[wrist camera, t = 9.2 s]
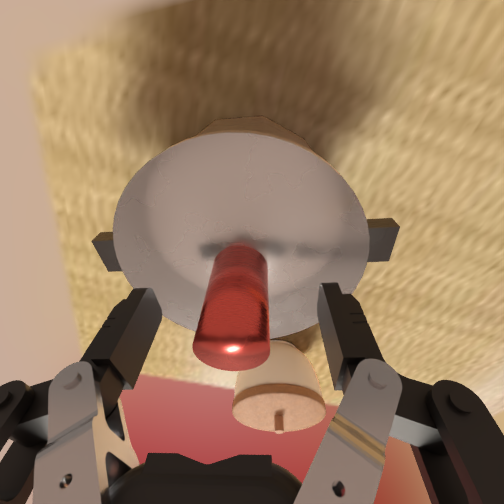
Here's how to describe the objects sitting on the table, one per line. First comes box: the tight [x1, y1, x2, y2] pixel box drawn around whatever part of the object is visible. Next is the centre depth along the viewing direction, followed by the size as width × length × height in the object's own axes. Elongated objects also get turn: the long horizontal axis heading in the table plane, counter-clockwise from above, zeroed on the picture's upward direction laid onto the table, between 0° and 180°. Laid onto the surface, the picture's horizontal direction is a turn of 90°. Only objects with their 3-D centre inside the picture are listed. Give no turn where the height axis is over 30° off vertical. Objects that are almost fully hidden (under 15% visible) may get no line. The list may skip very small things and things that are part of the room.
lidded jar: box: [232, 340, 326, 434], centre depth 30 cm, size 11×11×9 cm
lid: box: [113, 130, 370, 371], centre depth 12 cm, size 14×14×7 cm
